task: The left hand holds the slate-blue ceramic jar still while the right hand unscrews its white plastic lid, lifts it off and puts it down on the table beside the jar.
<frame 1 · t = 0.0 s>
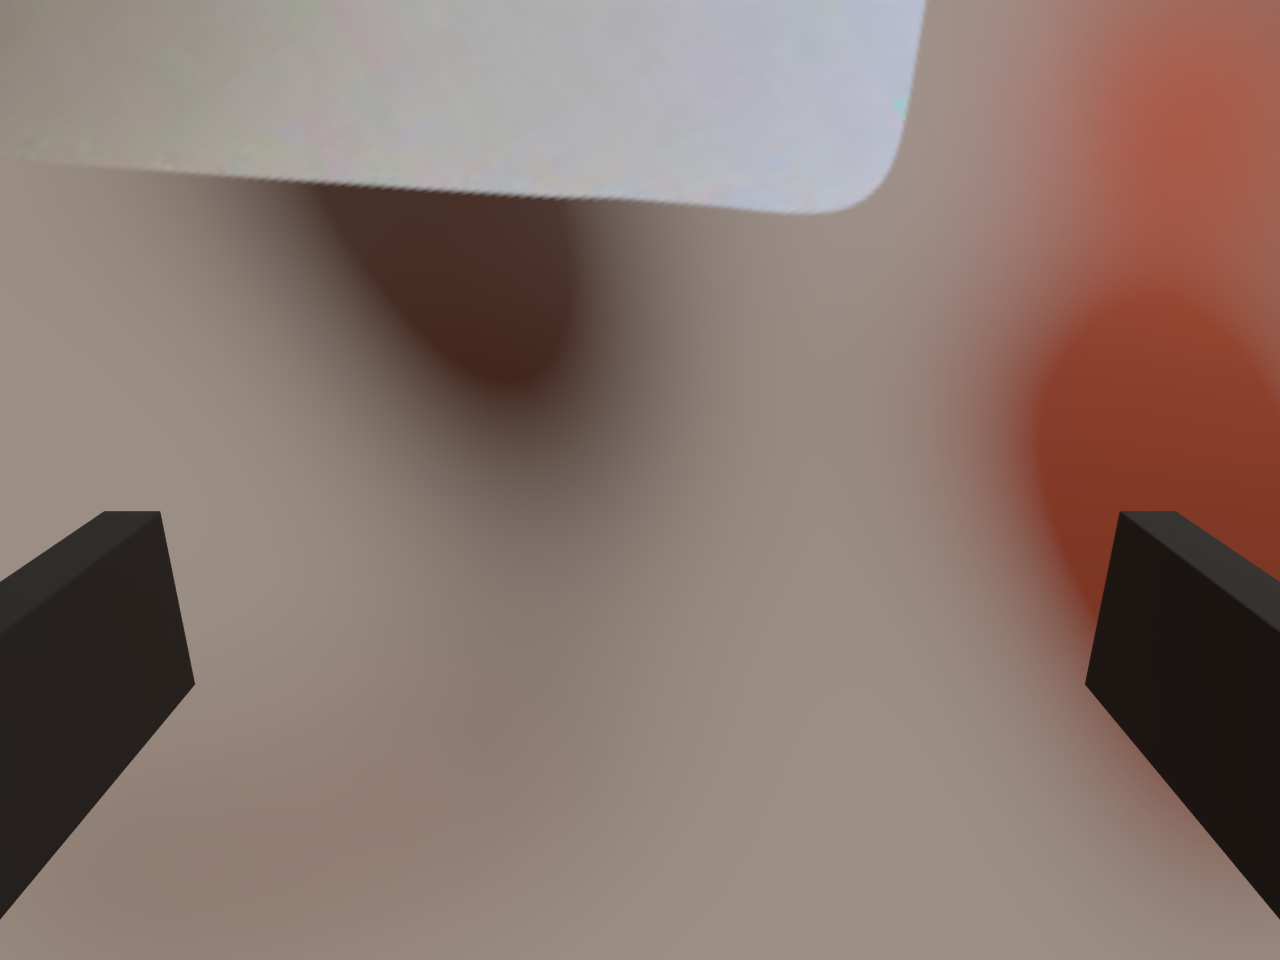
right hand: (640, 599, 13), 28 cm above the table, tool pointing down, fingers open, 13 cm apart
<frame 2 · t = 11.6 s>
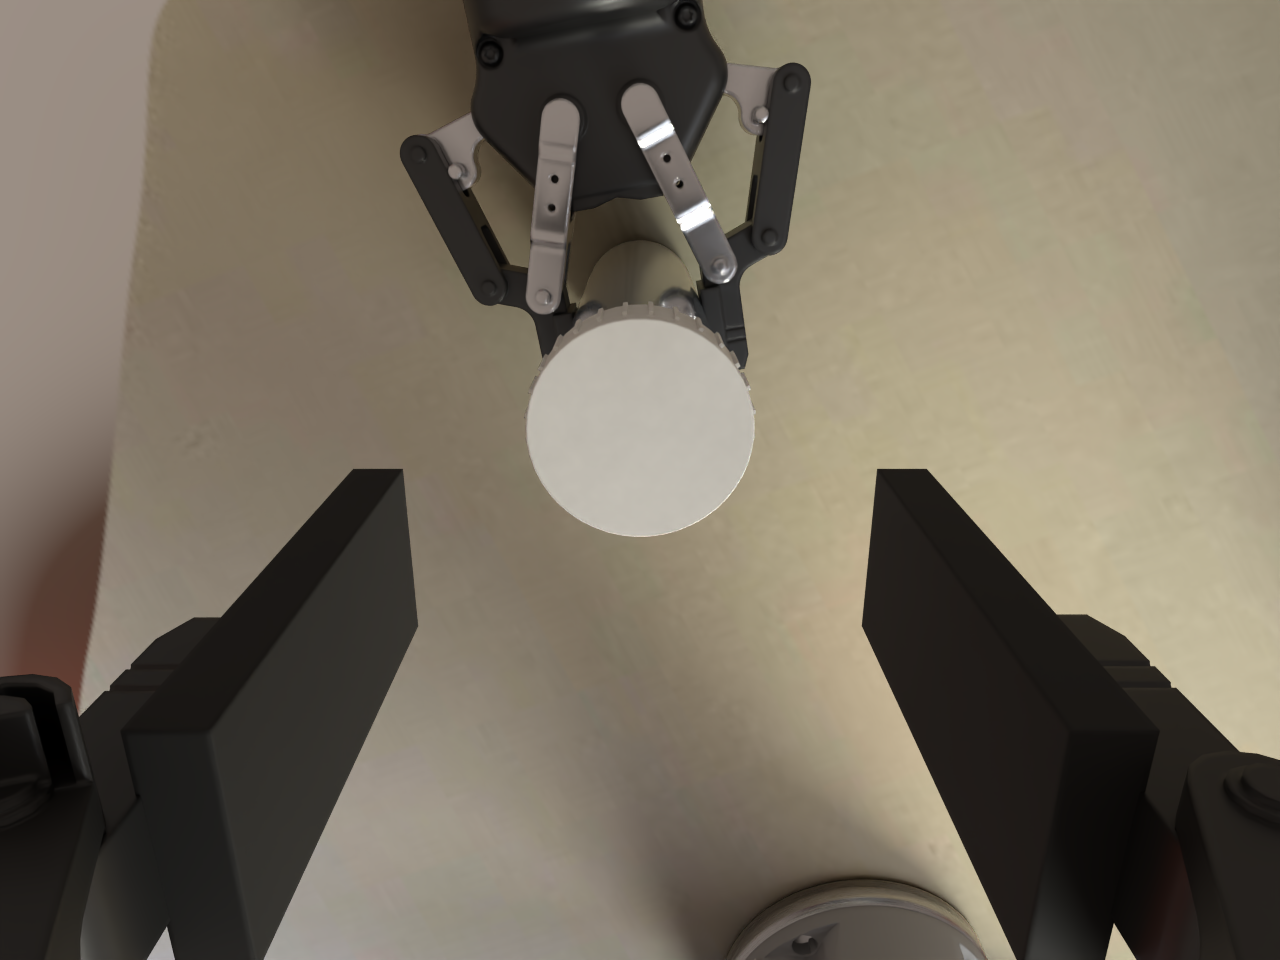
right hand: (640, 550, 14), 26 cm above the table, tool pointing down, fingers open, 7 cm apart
jar: (640, 294, 38), on the table, touching left hand
lid: (640, 428, 20), point 20 cm above the table, screwed on, not yet turned
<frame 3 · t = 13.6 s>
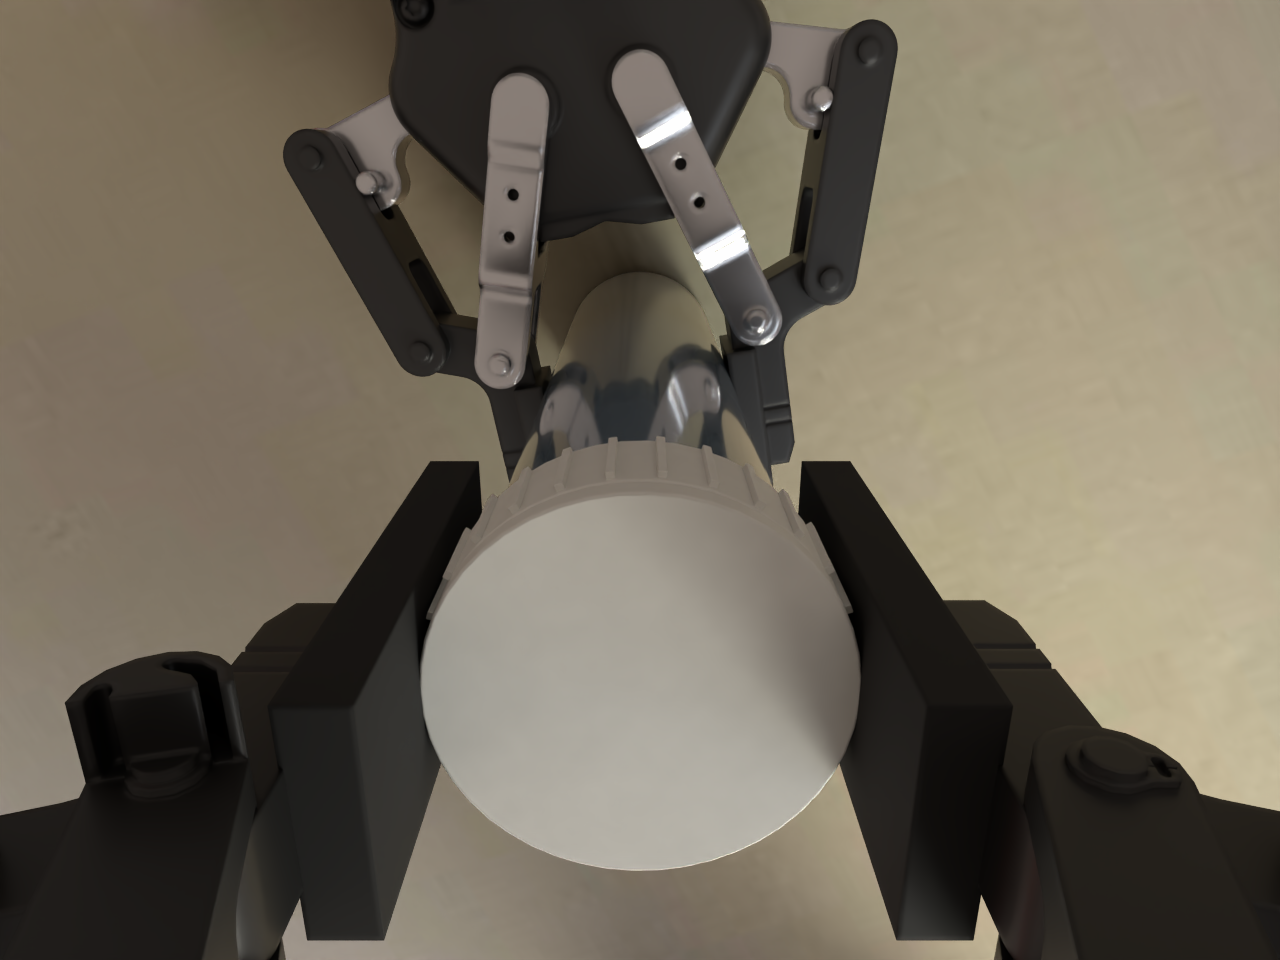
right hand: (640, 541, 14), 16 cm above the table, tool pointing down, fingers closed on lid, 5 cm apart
jar: (640, 342, 29), on the table, touching left hand
lid: (640, 681, 11), point 20 cm above the table, screwed on, not yet turned, touching right hand
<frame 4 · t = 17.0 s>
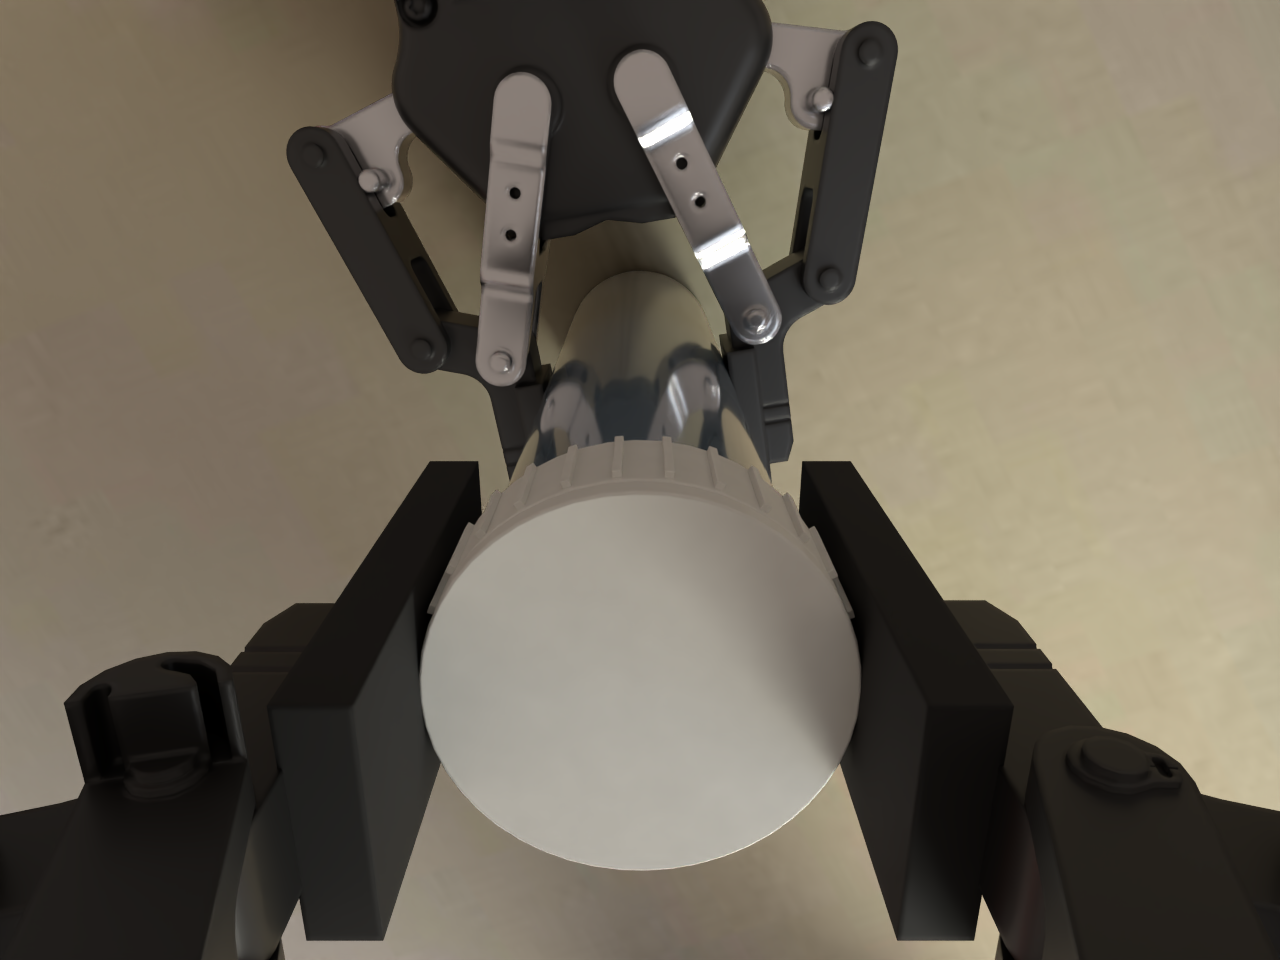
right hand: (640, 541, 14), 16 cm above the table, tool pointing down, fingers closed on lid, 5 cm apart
jar: (640, 341, 29), on the table, touching left hand
lid: (640, 681, 11), point 20 cm above the table, turned 101° so far, risen 0.1 cm, still on its thread, touching right hand
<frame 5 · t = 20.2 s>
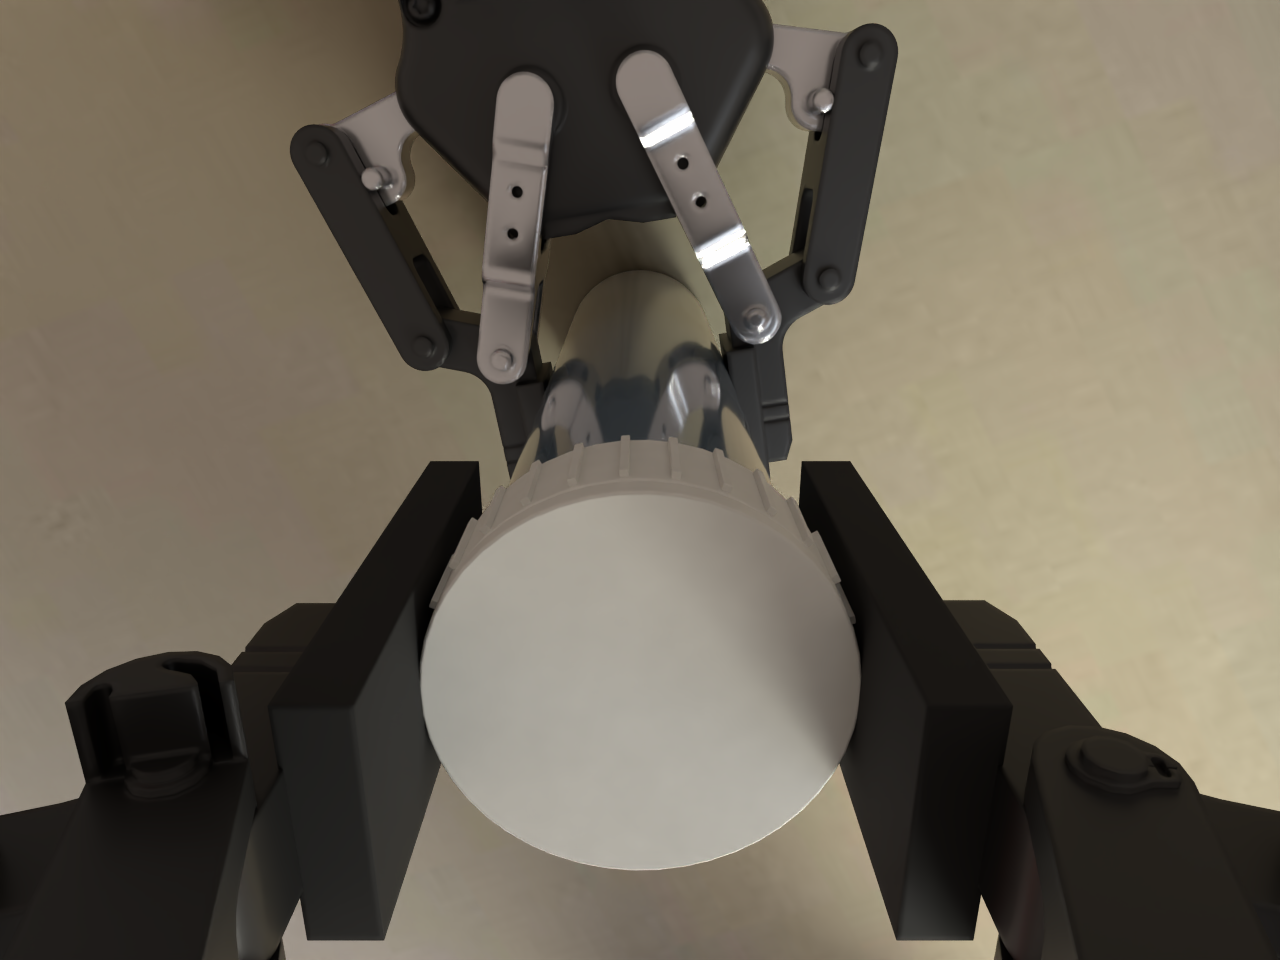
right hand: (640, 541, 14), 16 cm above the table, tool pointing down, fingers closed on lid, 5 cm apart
left hand: (655, 488, 24), fingers closed on jar, 4 cm apart
jar: (640, 340, 29), on the table, touching left hand
lid: (640, 680, 11), point 20 cm above the table, turned 203° so far, risen 0.3 cm, still on its thread, touching right hand
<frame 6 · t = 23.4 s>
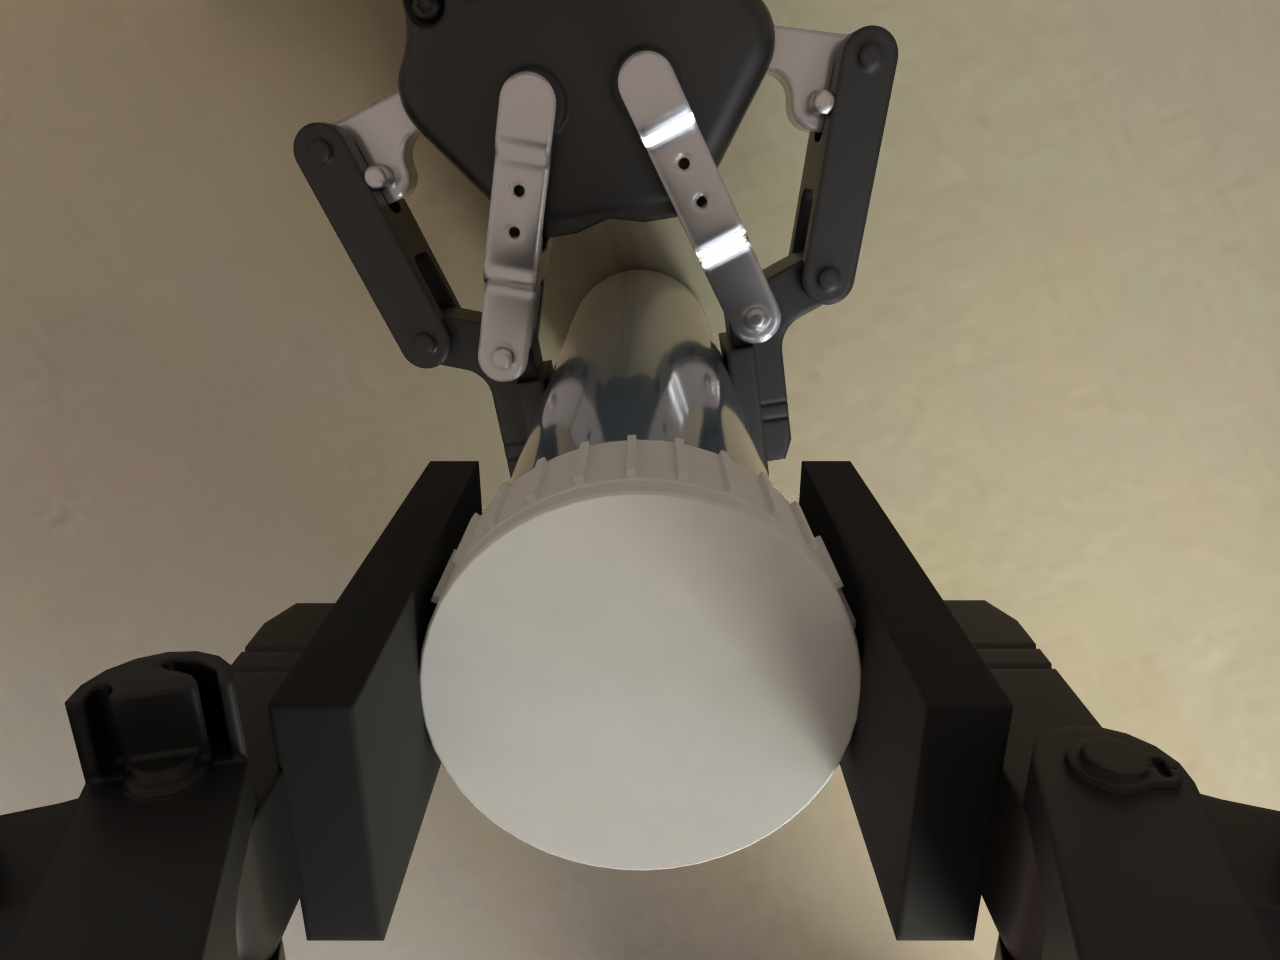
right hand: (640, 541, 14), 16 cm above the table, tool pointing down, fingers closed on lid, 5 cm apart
left hand: (654, 487, 24), fingers closed on jar, 4 cm apart
jar: (640, 339, 29), on the table, touching left hand
lid: (640, 680, 11), point 20 cm above the table, turned 304° so far, risen 0.4 cm, still on its thread, touching right hand
when the right hand's fingers open (0 cm above the table, at t = 30.3 s): lid drops 2 cm, point 1 cm above the table.
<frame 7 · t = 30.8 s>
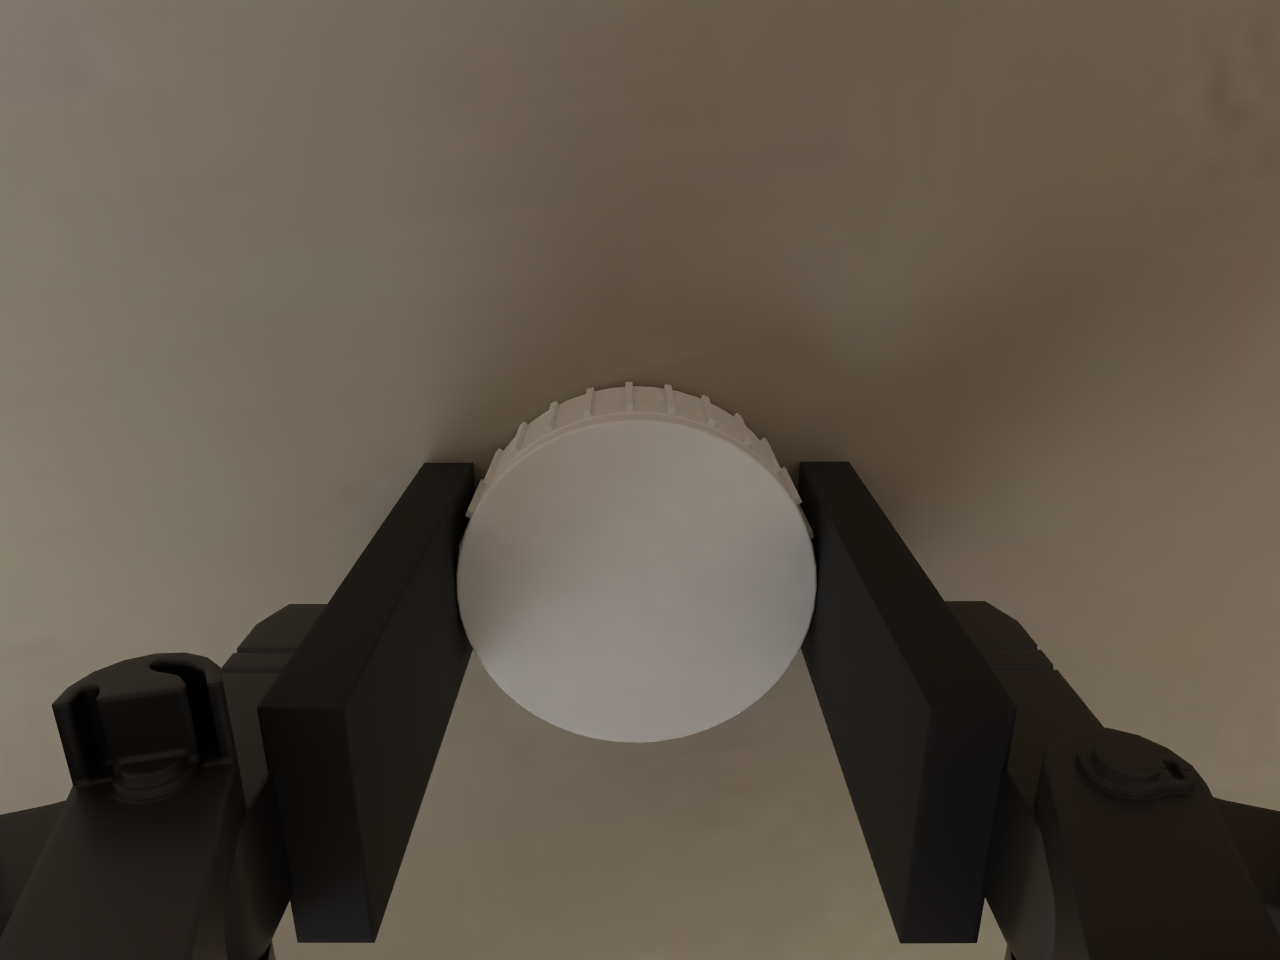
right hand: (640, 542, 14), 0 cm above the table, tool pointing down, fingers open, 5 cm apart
lid: (636, 582, 13), point 1 cm above the table, off its thread
when the left hand's fingers open (7 cm above the table, at t = 32.0 s): jar stays where it is, on the table.
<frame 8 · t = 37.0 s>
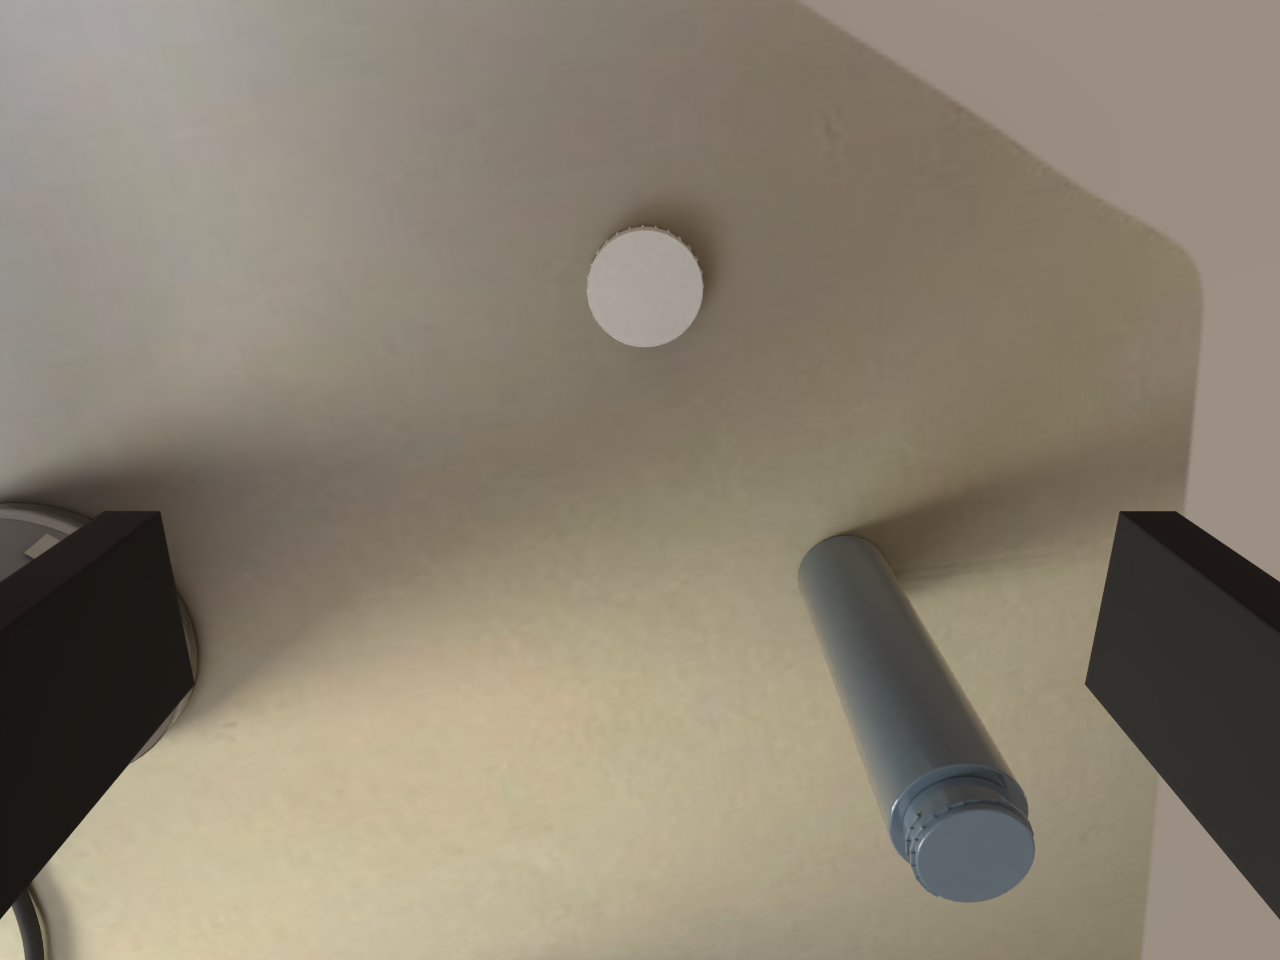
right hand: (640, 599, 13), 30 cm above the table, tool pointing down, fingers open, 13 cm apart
jar: (842, 575, 46), on the table
lid: (645, 288, 39), point 1 cm above the table, off its thread
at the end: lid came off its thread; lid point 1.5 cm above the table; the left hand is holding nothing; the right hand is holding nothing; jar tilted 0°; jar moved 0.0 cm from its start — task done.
